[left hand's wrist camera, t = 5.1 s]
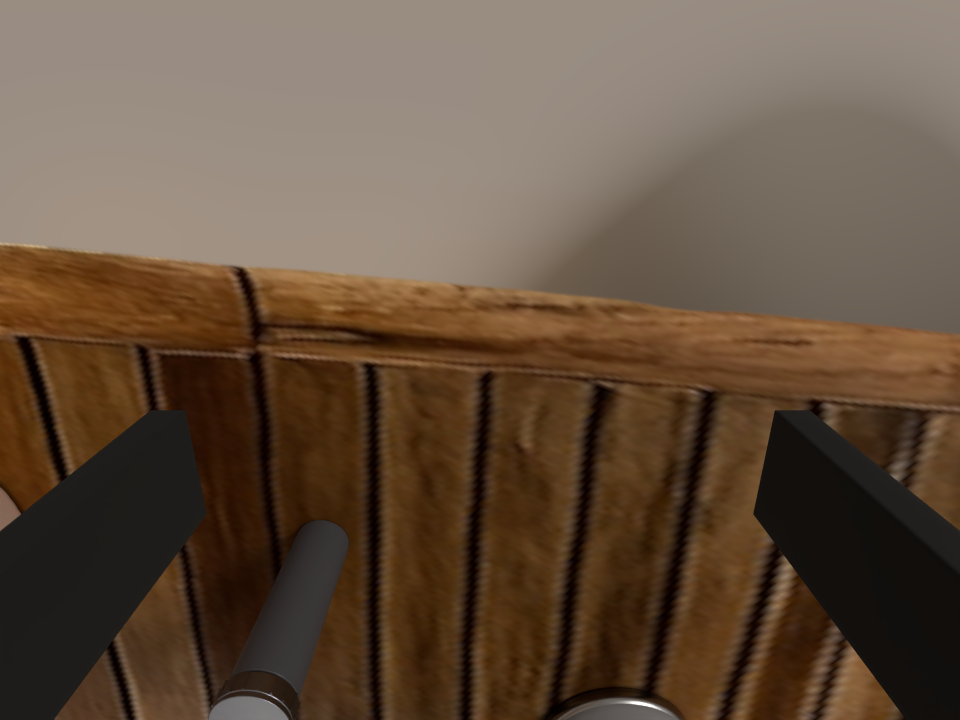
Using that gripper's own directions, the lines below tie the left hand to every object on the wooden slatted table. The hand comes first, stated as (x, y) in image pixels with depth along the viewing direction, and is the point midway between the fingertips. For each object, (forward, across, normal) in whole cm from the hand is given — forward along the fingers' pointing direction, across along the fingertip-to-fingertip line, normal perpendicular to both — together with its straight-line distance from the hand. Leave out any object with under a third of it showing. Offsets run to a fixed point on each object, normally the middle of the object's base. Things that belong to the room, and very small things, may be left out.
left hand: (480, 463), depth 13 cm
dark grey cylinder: (+28, +13, +25) cm, 40 cm away
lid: (+12, +13, +25) cm, 31 cm away
